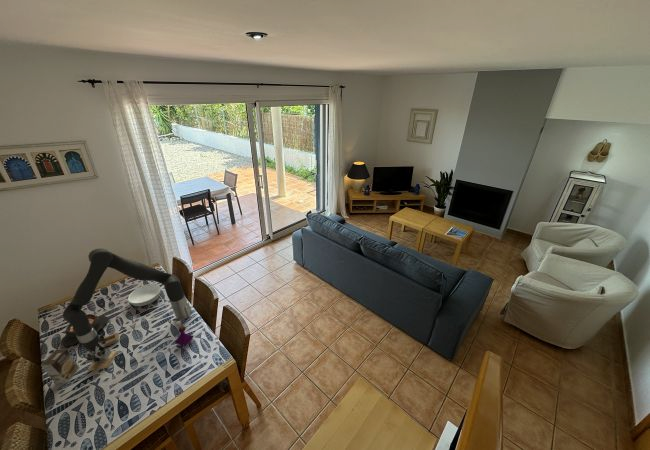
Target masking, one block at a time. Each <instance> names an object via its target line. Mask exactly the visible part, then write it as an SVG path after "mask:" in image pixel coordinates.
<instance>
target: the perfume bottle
mask: <svg viewBox="0 0 650 450" xmlns="http://www.w3.org/2000/svg"><path fill="white" fill-rule="evenodd" d="M174 325H175V326H178V330H177V331H178V332H179V336H178V337H177V338H176V341H175V342H174V343H176V344H178V345H179V346H183V347H187V346H188V344H190V343H191V341H192V339H193V337H194V335H191V334H190V333H186V332H185V331H186V329H187V328H186V326H184V325H182V322H181V320H177V321H176V322H175V323H174Z"/></svg>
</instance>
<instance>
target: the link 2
mask: <svg viewBox="0 0 650 450" xmlns="http://www.w3.org/2000/svg"><path fill="white" fill-rule="evenodd" d="M118 333H119V332H114V333H112V334H109V335H108V336H104V339H105V342H106V343H105V344H104V347H105V348H107V347H108V346H111V345H113V344H116V343H119V342H120V334H118ZM102 342H103V341H102Z"/></svg>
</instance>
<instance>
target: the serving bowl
mask: <svg viewBox="0 0 650 450" xmlns="http://www.w3.org/2000/svg"><path fill="white" fill-rule="evenodd" d="M161 292H162V288H161V286H160V285H159V284H157V283H149V284H144V285H142V286H139V287H138V288H136V289H134V290H133V291H131V293H130V294H129V296H128V297H127V301H128V302H129V304H131V305H132V306H135V307H144V306H148V305H150V304H152V303H154V302H155V301H156V300H157V299H158V298H159V297H160V295H161Z"/></svg>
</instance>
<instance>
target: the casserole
mask: <svg viewBox="0 0 650 450" xmlns="http://www.w3.org/2000/svg"><path fill="white" fill-rule="evenodd" d="M86 315H87V316H88V319H89V322H90V324H91V325H92V327H93V328H94V329H95V331H96V332H97V333H98V332H100V331H101V330H102V328H103V327H104V326H105V325H106V324H107V323H108V322H109V320H110V319H109V317H108V316H106V315H96V314H93V313H91V314H86ZM77 343H80V341H79V340H78V338H77V336H76V334H75V333H74V331H73V327H72V325H71V324H70V323H69V324H68V325H67V326H66V327H65V335H64V336H63V337H62V338H61V340H60V344H61V345H62V346H64V347H71V346H73V345H76V344H77Z"/></svg>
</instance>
